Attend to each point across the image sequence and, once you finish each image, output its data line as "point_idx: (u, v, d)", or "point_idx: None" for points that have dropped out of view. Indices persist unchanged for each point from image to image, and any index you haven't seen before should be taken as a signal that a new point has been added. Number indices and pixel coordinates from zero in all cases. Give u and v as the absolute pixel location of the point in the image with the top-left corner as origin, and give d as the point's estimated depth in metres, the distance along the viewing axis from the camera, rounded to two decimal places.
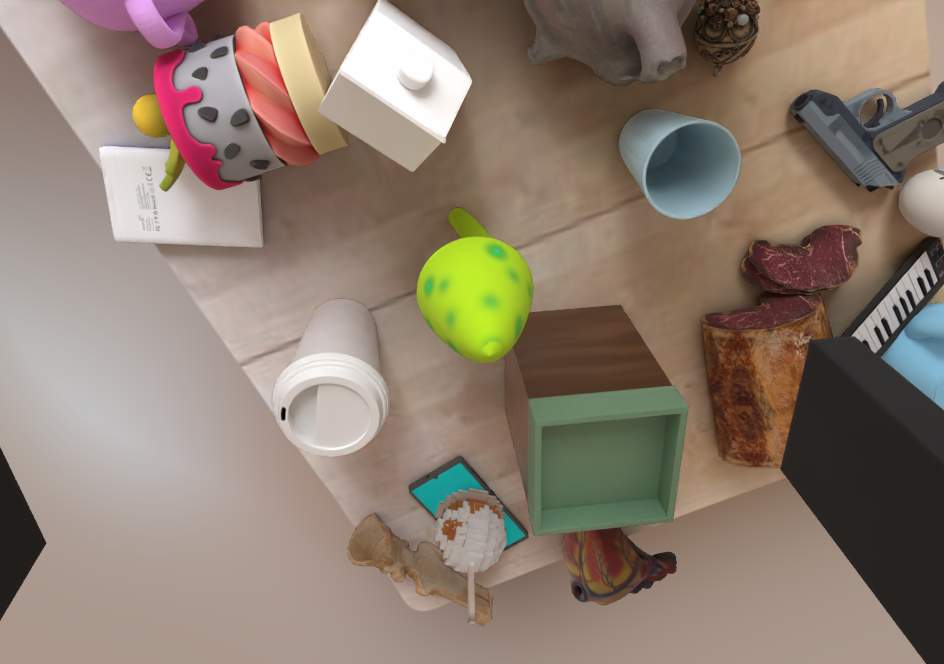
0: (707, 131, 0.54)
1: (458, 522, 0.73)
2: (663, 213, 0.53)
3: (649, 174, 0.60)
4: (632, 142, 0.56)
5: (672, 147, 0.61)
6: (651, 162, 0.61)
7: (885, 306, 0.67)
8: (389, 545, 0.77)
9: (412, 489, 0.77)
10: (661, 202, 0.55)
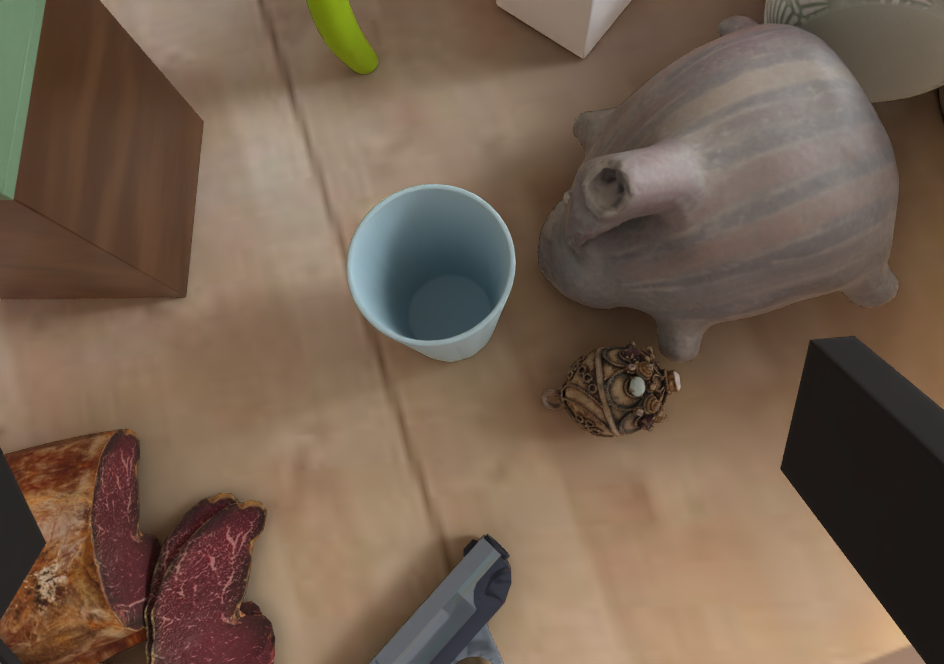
0: None
1: None
2: (362, 223, 0.31)
3: (403, 304, 0.39)
4: None
5: None
6: (418, 319, 0.40)
7: None
8: None
9: None
10: (374, 251, 0.33)
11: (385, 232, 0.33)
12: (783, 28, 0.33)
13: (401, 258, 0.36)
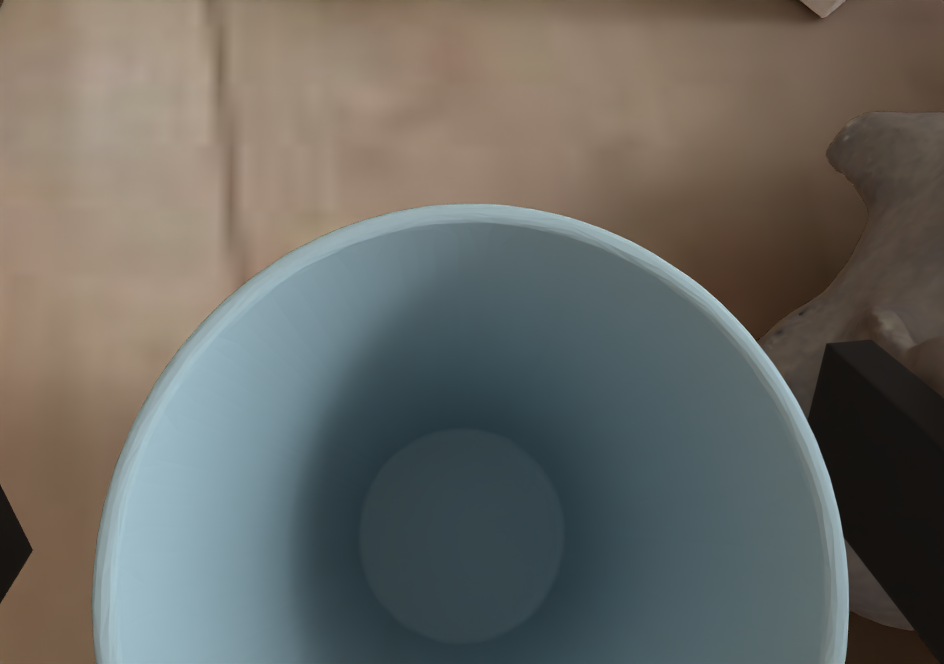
0: None
1: None
2: (222, 314, 0.08)
3: (351, 498, 0.15)
4: None
5: (418, 618, 0.16)
6: (382, 528, 0.16)
7: None
8: None
9: None
10: (271, 401, 0.09)
11: (323, 343, 0.09)
12: None
13: (366, 402, 0.13)
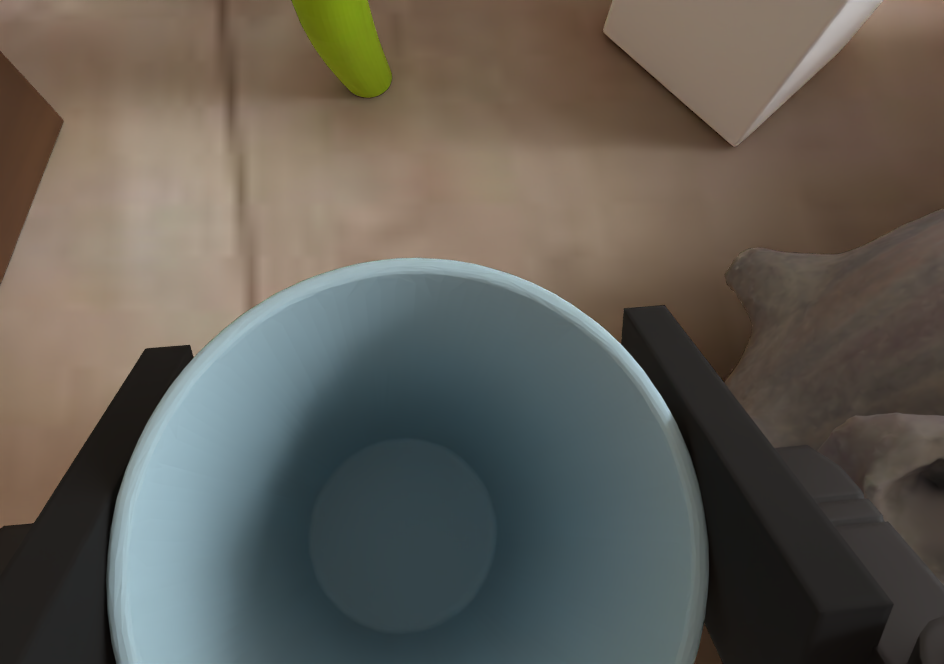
0: None
1: None
2: (218, 343, 0.09)
3: (304, 500, 0.17)
4: None
5: (362, 610, 0.17)
6: (331, 528, 0.18)
7: None
8: None
9: None
10: (248, 413, 0.11)
11: (295, 365, 0.11)
12: None
13: (325, 415, 0.14)
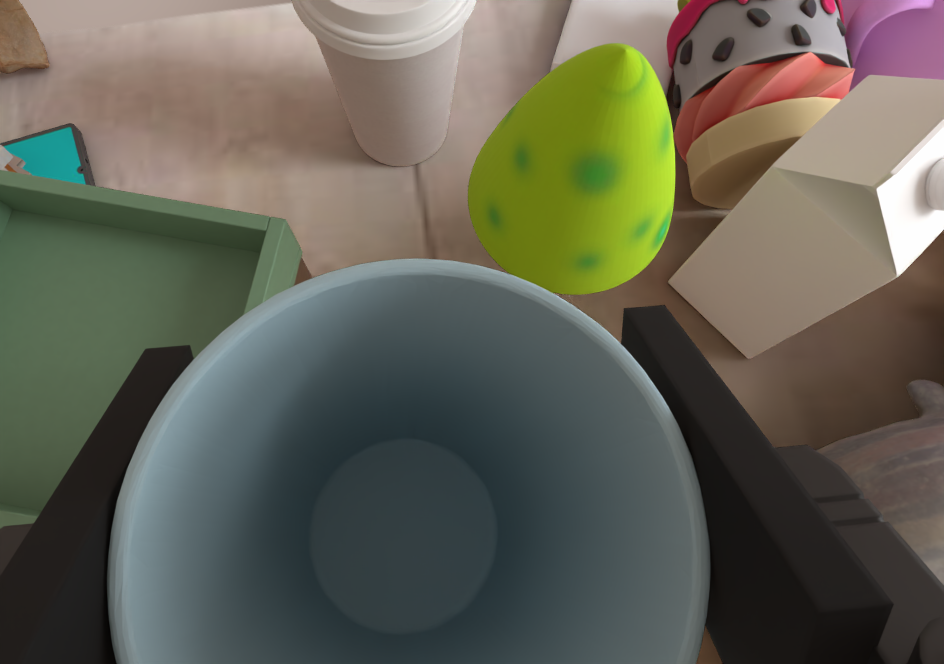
0: None
1: None
2: (219, 344, 0.09)
3: (305, 501, 0.17)
4: None
5: (362, 611, 0.17)
6: (331, 529, 0.18)
7: None
8: None
9: (73, 129, 0.45)
10: (249, 414, 0.11)
11: (296, 366, 0.11)
12: None
13: (325, 415, 0.14)
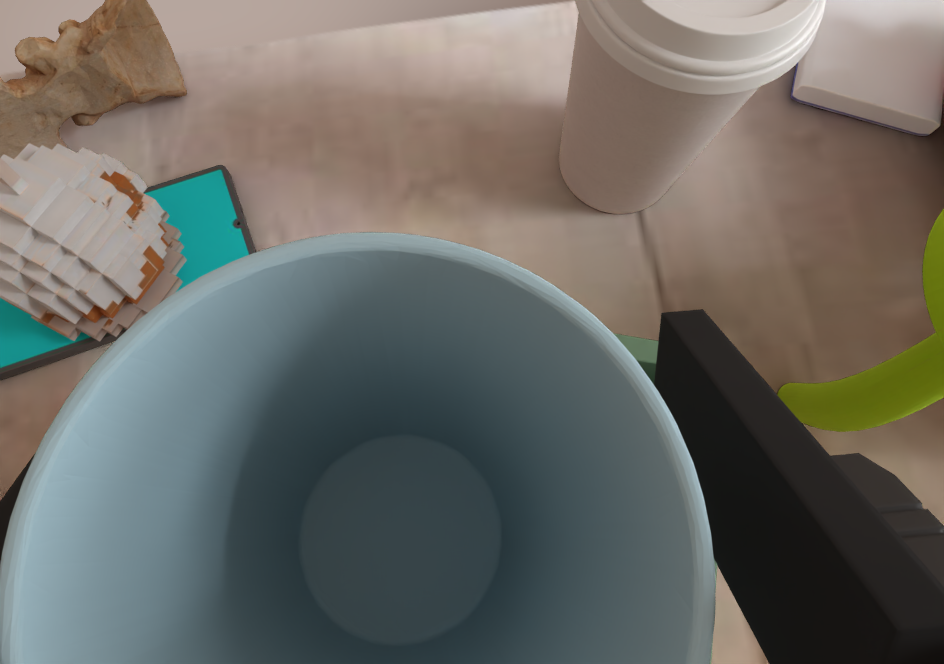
0: None
1: (138, 211, 0.30)
2: (133, 335, 0.08)
3: (290, 503, 0.16)
4: None
5: (356, 620, 0.16)
6: (323, 532, 0.17)
7: None
8: (116, 75, 0.35)
9: (224, 172, 0.36)
10: (193, 414, 0.10)
11: (244, 359, 0.10)
12: None
13: (299, 412, 0.13)
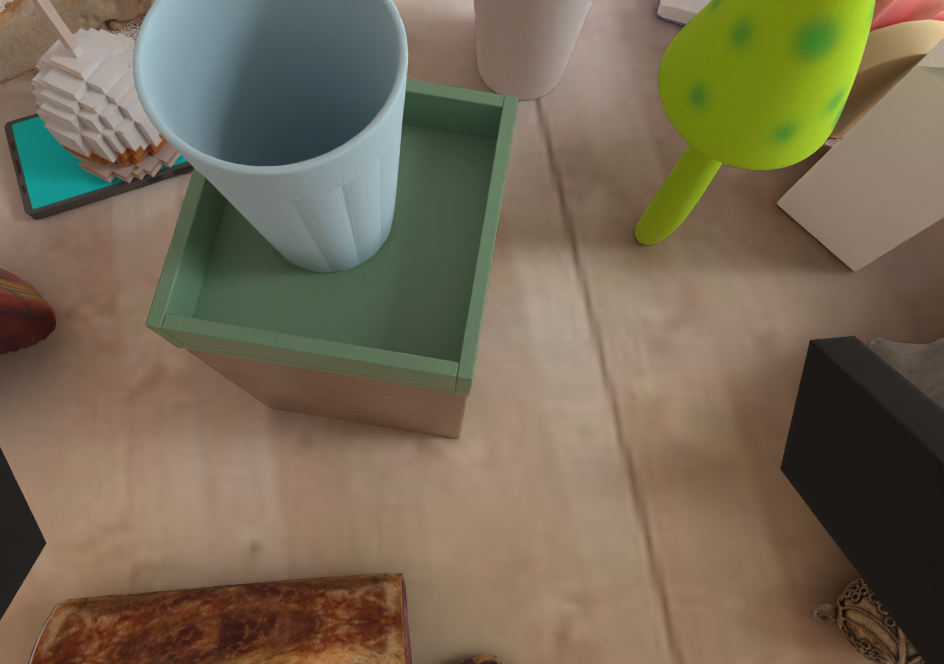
0: None
1: None
2: None
3: None
4: None
5: None
6: None
7: None
8: None
9: None
10: (205, 46, 0.22)
11: (228, 21, 0.22)
12: None
13: (260, 92, 0.25)
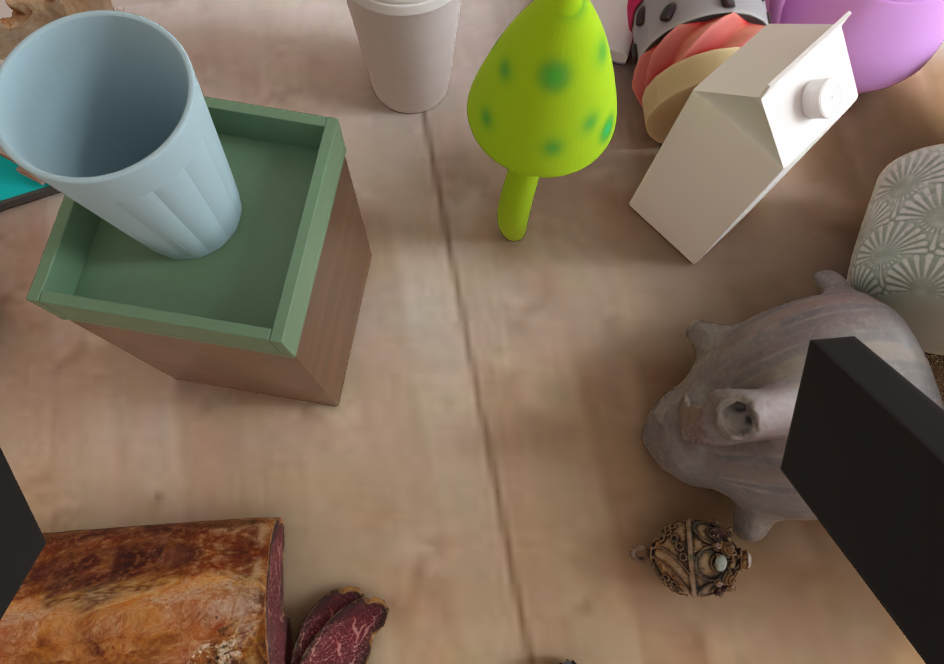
0: None
1: None
2: (29, 37, 0.27)
3: None
4: None
5: None
6: None
7: None
8: None
9: None
10: (58, 84, 0.29)
11: (76, 66, 0.29)
12: (876, 306, 0.42)
13: (116, 116, 0.32)
